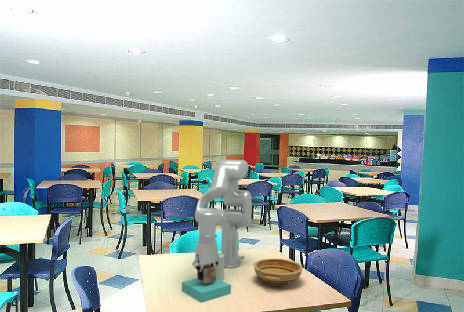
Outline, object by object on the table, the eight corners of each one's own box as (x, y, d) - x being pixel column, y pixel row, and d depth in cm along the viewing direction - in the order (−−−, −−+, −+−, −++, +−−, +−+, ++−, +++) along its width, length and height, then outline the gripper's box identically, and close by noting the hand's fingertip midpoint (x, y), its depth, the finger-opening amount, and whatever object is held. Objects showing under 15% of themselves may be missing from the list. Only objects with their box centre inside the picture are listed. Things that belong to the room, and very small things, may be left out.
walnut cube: (208, 276, 170) (208, 264, 170) (215, 280, 165) (215, 267, 165) (197, 279, 166) (197, 266, 166) (204, 283, 161) (205, 270, 161)
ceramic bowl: (261, 269, 198) (261, 254, 198) (306, 275, 190) (306, 260, 190) (245, 288, 170) (245, 271, 170) (297, 296, 162) (297, 278, 162)
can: (226, 276, 187) (227, 253, 186) (220, 282, 178) (220, 258, 178) (210, 273, 190) (210, 251, 189) (203, 279, 181) (203, 255, 181)
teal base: (210, 282, 177) (210, 274, 177) (230, 293, 165) (231, 284, 164) (181, 290, 167) (182, 281, 167) (201, 302, 154) (201, 293, 154)
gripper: (217, 234, 174) (216, 271, 174) (186, 239, 163) (185, 279, 163) (227, 237, 168) (226, 276, 168) (195, 243, 157) (195, 284, 157)
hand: (206, 277), depth 166 cm, fingers closed on walnut cube, 6 cm apart
